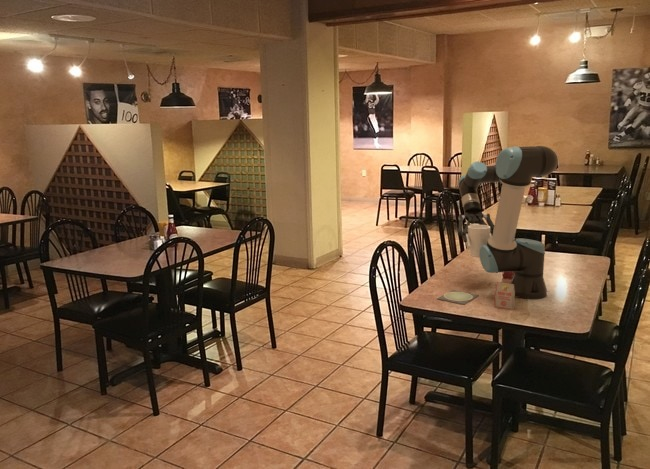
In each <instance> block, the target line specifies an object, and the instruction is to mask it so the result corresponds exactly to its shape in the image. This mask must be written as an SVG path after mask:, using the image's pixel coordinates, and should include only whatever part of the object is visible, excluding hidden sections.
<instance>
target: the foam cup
mask: <svg viewBox="0 0 650 469" xmlns="http://www.w3.org/2000/svg"><path fill="white" fill-rule="evenodd" d="M487 225H488V224H487ZM487 225H479V224H470V225H469V226H468V230H467V232H468V233H467V234H468V237H469V242H470V248H469V252H470V257H472V258H479V259H480V255H479V252H480V248H481V247H482V246H483V245H487V241H488V238H489V234H490V226H489V225H488V226H487Z"/></svg>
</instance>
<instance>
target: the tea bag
mask: <svg viewBox="0 0 650 469" xmlns="http://www.w3.org/2000/svg"><path fill="white" fill-rule="evenodd" d="M515 298H516V296H515V290H514V284H511V283H507V282H499V281H496V284H495V291H494V306H493V307H494V308H497V309H503V310H510V311H512V310H513V309H514V308H515V301H516V300H515Z"/></svg>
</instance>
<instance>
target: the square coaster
mask: <svg viewBox="0 0 650 469" xmlns="http://www.w3.org/2000/svg"><path fill="white" fill-rule="evenodd" d="M479 296H480V295H479V294H476V293H471V292H465V291H460V290H455V289H452V290H451V291H447V293H444V294H443V295H440V296H438V297H437V299H436V300H437V301H438V300H439V301H443V302H447V303H453V304H458V305H462V306H464V305H466V304H468V303H471V302H472V301H473V300H474V299H477V298H478V297H479Z"/></svg>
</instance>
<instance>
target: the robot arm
mask: <svg viewBox="0 0 650 469" xmlns="http://www.w3.org/2000/svg"><path fill="white" fill-rule="evenodd" d="M558 164H559V158H558V155H557V153H556V152H555V151H554V150H553V149H552V148H550V147H548V146H543V145H534V146H533V145H531V146H516V145H514V146H510V147H506V148H503V149H502V150H500V152H499V153H498V155H497V157H496V162H495V165H487V164H485V163H484V162H480V161H474V162H472V163H471V165H470V166H469V167H468V168H467V171H466V173H465V174H464V175H461V177H459V179H458V181H457V183H458V190H459V194H460V198H461V203H462V204H461V205H462V207H463V212H464V214H461V213H460V214H459V215H458V218H457V220H458V230H457V235H458V236H461V238H462V241H463V243H465V245H466V250H469V251H470V242H469V234H468V233H467V232H468V226H469V225H487V226H490V234H489V238H488V241H487V245H483V246H482V247H481V248H480V252H479V255H480V258H479V260H480V264H481V266H482V268H483V269H484V271H485V272H487V273H488V274H489V273H490V274H493V273H494V274H498V273H510V272H513V277H512V279H511V281H510V284H514V290H515V298H516V297H517V298H522V299H531V300H533V299H535V300H536V299H542V298H545V297H547V294H548V293H547V291H548V289H547V286H546V282H545V280H544V269H545V268H544V267H545V254H546V250H545V249H546V248H545V244H544V243H543V242H541V241H538V240H534V239H529V238H516V239H515V237H516V233H517V228H518V223H519V217H520V215H521V214H520V213H521V210H522V205H523V202H524V200H523V199H524V197H525V191H526V188H527V187H529V186H530V185H531V182H532V178H536V177H537V178H538V177H539V178H540V177H544V176H549V175H550V174H552V173H553V172H554V171H555V170H556V169H557V166H558ZM485 183H486V184H487V183H488V184H489V183H492V184H493V183H501V184H502V185H501V190H500V196H499V199H498V204H497V210H496V214H495V215H496V216H495V219H494V220H495V221H494V223H493V221H492V219H491V215H490V213H486V214H484V213H483V212H482V208H481V203H480V198H479V195H478V194H479V193H478V188H479V186H480V185H481V184H485ZM464 219H465V220H466V222H467V223H466V225H465V226H464V229H463V221H464Z"/></svg>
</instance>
